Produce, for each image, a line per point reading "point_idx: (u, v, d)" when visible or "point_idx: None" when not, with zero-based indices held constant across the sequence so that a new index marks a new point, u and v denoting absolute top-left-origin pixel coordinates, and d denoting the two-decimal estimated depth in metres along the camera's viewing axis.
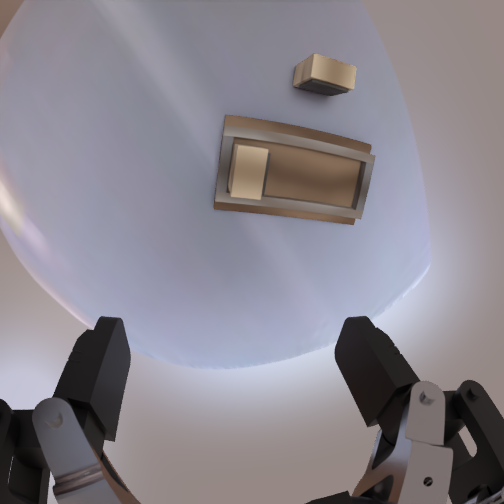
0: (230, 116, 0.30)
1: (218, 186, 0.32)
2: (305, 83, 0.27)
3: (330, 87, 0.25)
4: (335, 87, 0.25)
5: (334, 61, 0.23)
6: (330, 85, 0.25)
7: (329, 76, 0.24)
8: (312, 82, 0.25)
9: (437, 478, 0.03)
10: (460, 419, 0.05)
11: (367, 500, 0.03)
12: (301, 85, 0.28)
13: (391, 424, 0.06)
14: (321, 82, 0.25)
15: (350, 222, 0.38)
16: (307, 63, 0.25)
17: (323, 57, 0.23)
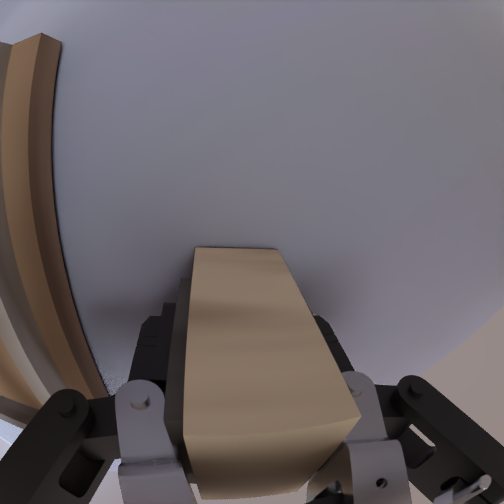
0: (34, 48, 0.04)
1: None
2: (179, 333, 0.06)
3: None
4: (184, 467, 0.05)
5: (312, 467, 0.05)
6: (183, 460, 0.05)
7: (224, 473, 0.04)
8: None
9: (391, 476, 0.03)
10: (398, 418, 0.06)
11: None
12: (178, 301, 0.07)
13: None
14: (181, 443, 0.04)
15: None
16: (290, 348, 0.05)
17: (333, 443, 0.04)
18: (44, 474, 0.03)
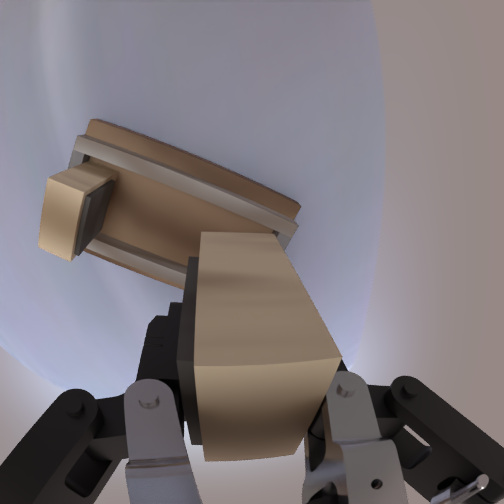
0: (95, 122, 0.18)
1: None
2: (189, 297, 0.07)
3: None
4: (190, 422, 0.06)
5: (305, 418, 0.06)
6: (190, 412, 0.06)
7: (226, 419, 0.06)
8: None
9: (386, 477, 0.03)
10: (392, 418, 0.06)
11: None
12: (188, 273, 0.09)
13: (314, 421, 0.06)
14: (189, 388, 0.06)
15: None
16: (282, 305, 0.07)
17: (321, 388, 0.06)
18: (50, 474, 0.03)
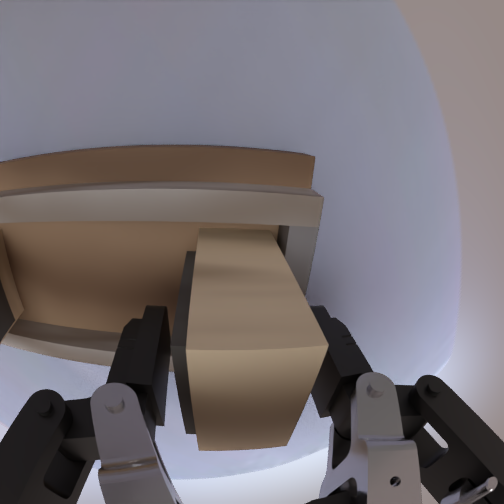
0: None
1: None
2: (185, 288, 0.08)
3: None
4: (184, 409, 0.07)
5: (295, 407, 0.06)
6: (184, 399, 0.07)
7: (218, 405, 0.06)
8: None
9: (405, 476, 0.03)
10: (417, 416, 0.05)
11: None
12: (185, 267, 0.09)
13: (342, 420, 0.06)
14: (183, 374, 0.06)
15: None
16: (273, 296, 0.07)
17: (309, 377, 0.06)
18: (28, 475, 0.02)
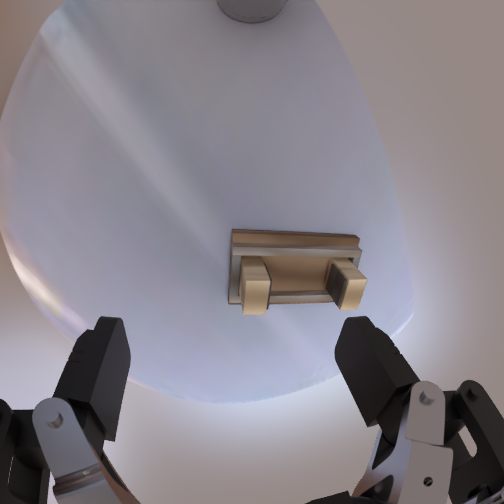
0: (236, 234, 0.38)
1: (231, 292, 0.40)
2: (339, 272, 0.38)
3: (339, 293, 0.38)
4: (340, 297, 0.37)
5: (361, 293, 0.37)
6: (342, 293, 0.37)
7: (349, 292, 0.37)
8: (343, 279, 0.37)
9: (437, 478, 0.03)
10: (460, 419, 0.05)
11: (367, 500, 0.03)
12: (334, 267, 0.40)
13: (391, 424, 0.06)
14: (344, 286, 0.37)
15: None
16: (356, 272, 0.38)
17: (364, 286, 0.37)
18: None
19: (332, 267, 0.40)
